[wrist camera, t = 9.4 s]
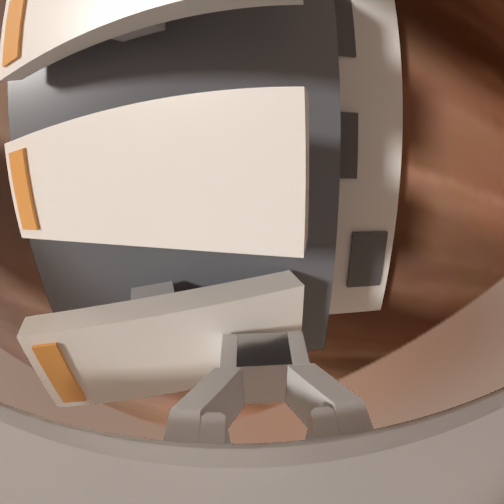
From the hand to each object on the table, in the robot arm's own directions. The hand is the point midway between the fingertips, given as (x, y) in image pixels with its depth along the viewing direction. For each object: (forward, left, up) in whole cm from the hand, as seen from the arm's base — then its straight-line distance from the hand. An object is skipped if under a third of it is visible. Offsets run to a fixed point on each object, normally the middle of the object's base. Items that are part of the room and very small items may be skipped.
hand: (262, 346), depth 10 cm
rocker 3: (+4, 0, -2) cm, 4 cm away
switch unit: (+3, -6, -7) cm, 10 cm away
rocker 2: (+3, -6, -2) cm, 7 cm away
